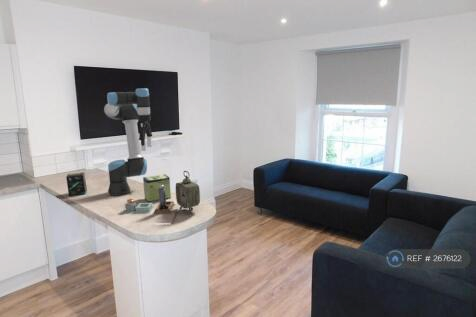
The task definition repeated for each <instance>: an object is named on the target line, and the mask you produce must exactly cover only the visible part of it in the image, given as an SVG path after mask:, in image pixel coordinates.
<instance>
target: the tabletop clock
mask: <svg viewBox="0 0 476 317" xmlns="http://www.w3.org/2000/svg"><path fill="white" fill-rule="evenodd" d="M185 173H187V174H188V175H185ZM183 176H184V178H183V179H182V181H181V182H179V181H178V182H176V183H175V199H176V204H177V205H179V210H182V209H188V211H187V215H191V211H193V210H194V207H197V206H199V204H201V203H200V201H201V193H200V186H199V184H197V183H196V182H194V181H192V180H191V178H190V172H189V171H187V170H184V171H183Z"/></svg>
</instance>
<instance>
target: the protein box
mask: <svg viewBox="0 0 476 317" xmlns="http://www.w3.org/2000/svg"><path fill="white" fill-rule="evenodd" d="M170 178H171V177H170V176H168V175H167V174H165V173H164V174H158V175H151V176H145V177H142V179H143V180H142V181H143V193H144V200H145V201H147V203H153V202H155V201H156V202H157V201H158V202H159V193H158V189H159V185H164V188H165V193H166V200H168V199H169V200H170V199H172V197H171V196H172V195H171V182H170V181H171V180H170Z"/></svg>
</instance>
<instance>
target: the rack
mask: <svg viewBox="0 0 476 317" xmlns="http://www.w3.org/2000/svg"><path fill="white" fill-rule="evenodd" d="M174 202H175V201H174V200H169V201H167V200H166V207H167V210H160V206H159V203H158V204H157V206H156V207H155V209H154V212H153V215H159V214H160V215H162V214H163V215H164V214H167V215H168V214H171V213H172V212H173V209H174V207H175V206H176V204H175V203H174Z"/></svg>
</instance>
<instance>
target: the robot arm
mask: <svg viewBox="0 0 476 317" xmlns="http://www.w3.org/2000/svg"><path fill="white" fill-rule="evenodd" d="M106 98H107V103H106V104H105V105H104V107H103V112H104V114H105V115H106V117H108V118H110V119H113V120H116V121H117V120H121V122H122V123H123V124H124V127H125V134H126V135H125V136H126V143H127V151H128V157H127V161H126V160H125V159H117V160H112V161H110V162H109V163H108V165H107V166H108V167H107V168H108V169H107V171H108V177H109V186H108V189H107V193H108V196H109V195H110V196H123V195H126V194H129V193H131V187H130V185H129V183H128V180H127V178H131V177H140V176H143V175H146V173H147V172H148V170H147V169H148V162H147V159H146V158H144V155H142V152H147V148H152V146H153V143H152V137H153V134H152V129H151V125H150V124H151V123H150V121H151V120H152V118H151V106H150V105H151V104H150V92H149V88H147V87H146V88H145V87H143V88H136V89H135V91H126V92H124V91H119V92H118V91H113V92H112V91H111V92H107V95H106ZM138 122H140V123H139V128H138ZM141 151H142V152H141Z"/></svg>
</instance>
